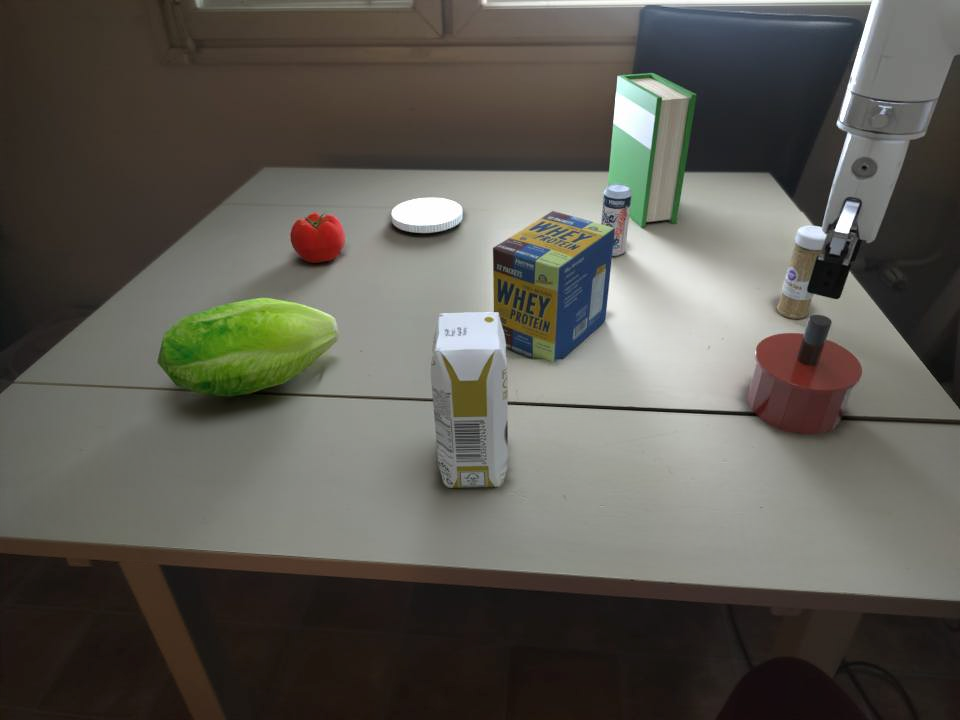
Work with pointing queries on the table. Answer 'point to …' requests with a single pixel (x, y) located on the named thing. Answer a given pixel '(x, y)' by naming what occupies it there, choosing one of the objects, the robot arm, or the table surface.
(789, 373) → the lid
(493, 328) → the juice carton
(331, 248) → the tomato
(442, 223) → the plastic lid
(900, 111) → the robot arm
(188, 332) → the lettuce
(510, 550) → the table surface
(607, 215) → the beer can
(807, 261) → the sprinkles bottle
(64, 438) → the table surface
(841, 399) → the pot
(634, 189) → the hardback book
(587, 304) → the protein box
